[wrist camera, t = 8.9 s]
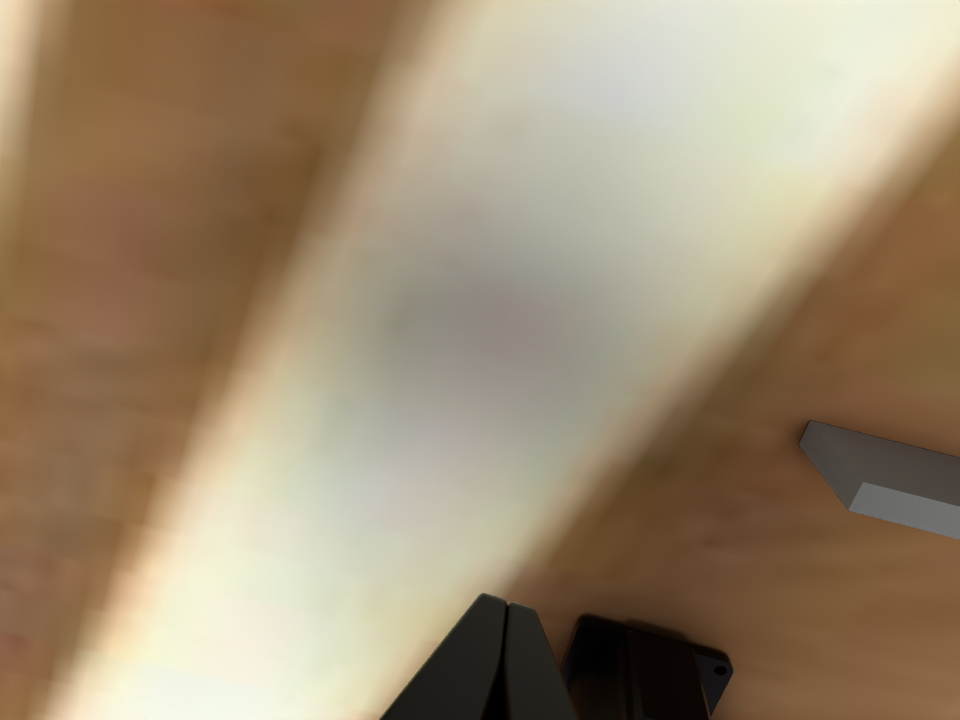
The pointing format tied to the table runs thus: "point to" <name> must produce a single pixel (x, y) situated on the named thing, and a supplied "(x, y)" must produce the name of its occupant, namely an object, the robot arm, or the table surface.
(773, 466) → the table surface
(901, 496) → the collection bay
